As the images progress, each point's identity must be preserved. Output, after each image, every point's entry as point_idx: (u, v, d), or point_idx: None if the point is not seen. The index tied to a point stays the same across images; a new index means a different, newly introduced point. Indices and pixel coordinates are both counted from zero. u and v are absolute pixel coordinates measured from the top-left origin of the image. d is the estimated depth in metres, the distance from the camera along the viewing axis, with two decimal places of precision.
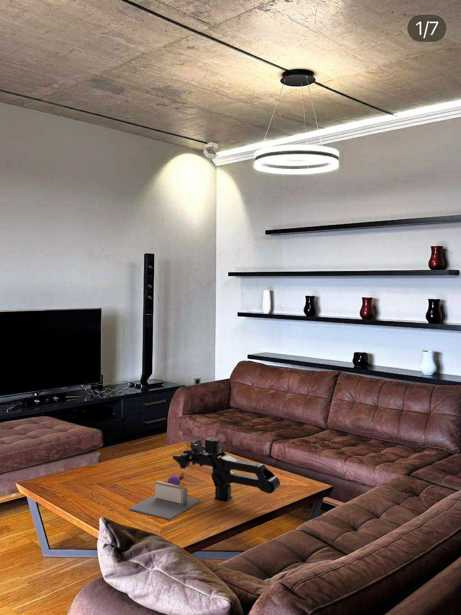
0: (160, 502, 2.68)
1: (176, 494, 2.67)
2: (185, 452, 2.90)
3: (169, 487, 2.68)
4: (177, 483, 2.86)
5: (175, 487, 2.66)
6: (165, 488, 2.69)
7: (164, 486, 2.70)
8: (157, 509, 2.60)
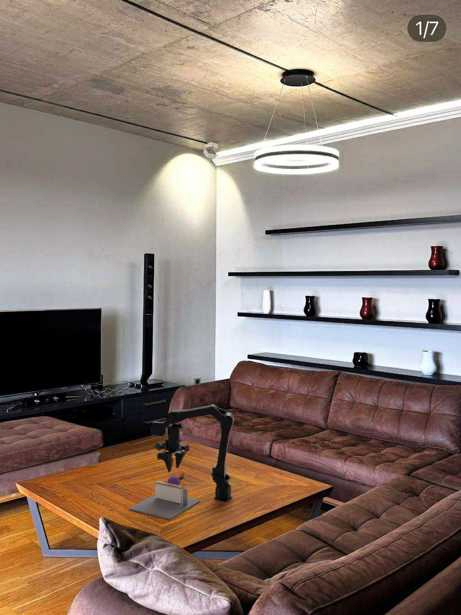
0: (160, 502, 2.68)
1: (176, 494, 2.67)
2: (177, 465, 2.80)
3: (169, 487, 2.68)
4: (177, 483, 2.86)
5: (175, 487, 2.66)
6: (165, 488, 2.69)
7: (164, 486, 2.70)
8: (157, 509, 2.60)
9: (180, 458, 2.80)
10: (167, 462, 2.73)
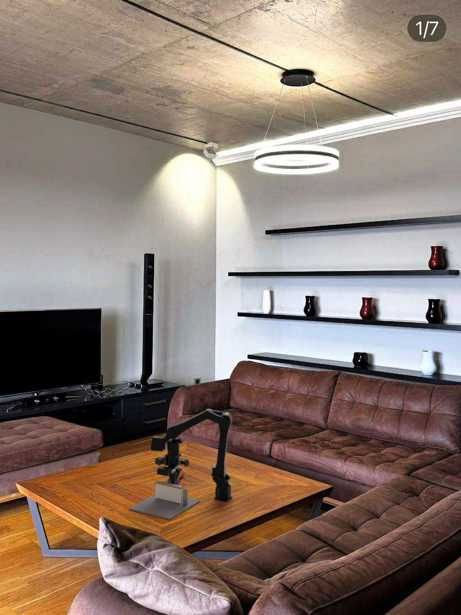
0: (160, 502, 2.68)
1: (176, 494, 2.67)
2: None
3: (169, 487, 2.68)
4: (176, 483, 2.86)
5: (175, 487, 2.66)
6: (165, 488, 2.69)
7: (164, 486, 2.70)
8: (157, 509, 2.60)
9: None
10: (171, 475, 2.76)
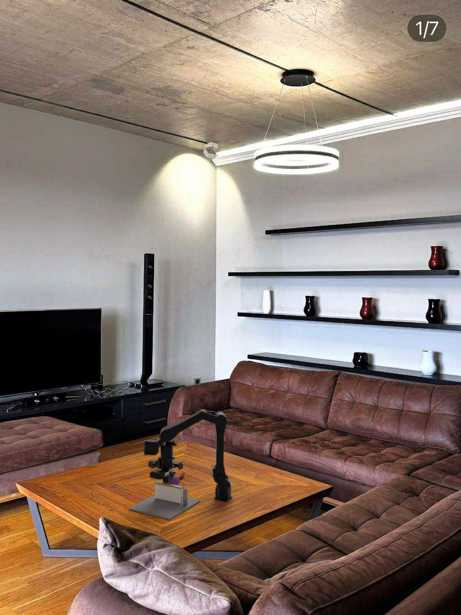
0: (160, 502, 2.68)
1: (176, 494, 2.66)
2: None
3: (169, 487, 2.68)
4: (176, 483, 2.86)
5: (175, 487, 2.66)
6: (165, 488, 2.69)
7: (164, 486, 2.69)
8: (157, 509, 2.60)
9: None
10: (164, 478, 2.71)
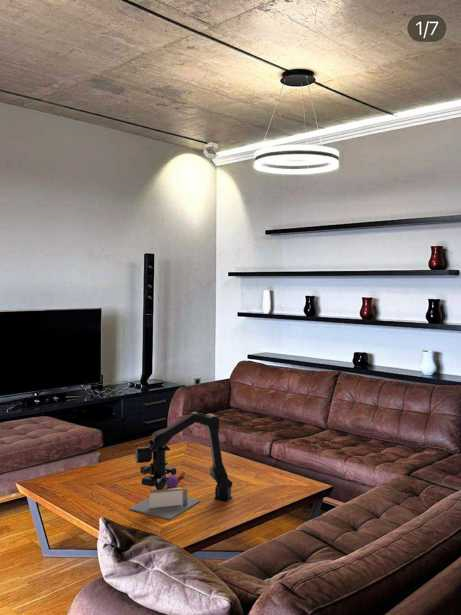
0: None
1: (176, 497, 2.63)
2: None
3: (167, 492, 2.62)
4: (174, 483, 2.86)
5: (175, 490, 2.63)
6: (162, 495, 2.61)
7: (161, 493, 2.61)
8: (157, 509, 2.60)
9: None
10: (157, 485, 2.63)
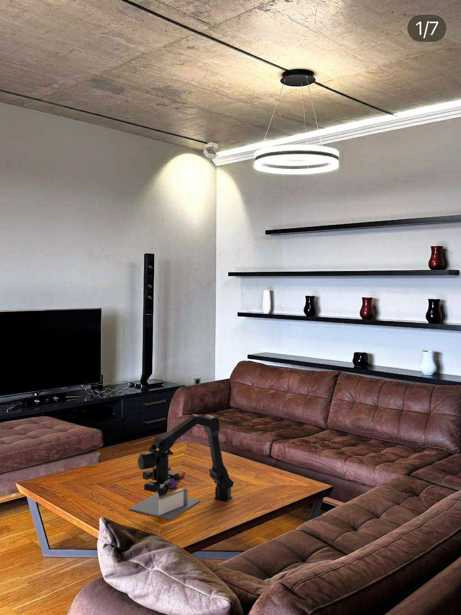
0: None
1: (179, 498, 2.61)
2: None
3: (173, 495, 2.58)
4: (174, 482, 2.86)
5: (178, 492, 2.61)
6: (169, 499, 2.57)
7: (168, 497, 2.56)
8: (157, 509, 2.60)
9: None
10: (159, 491, 2.56)
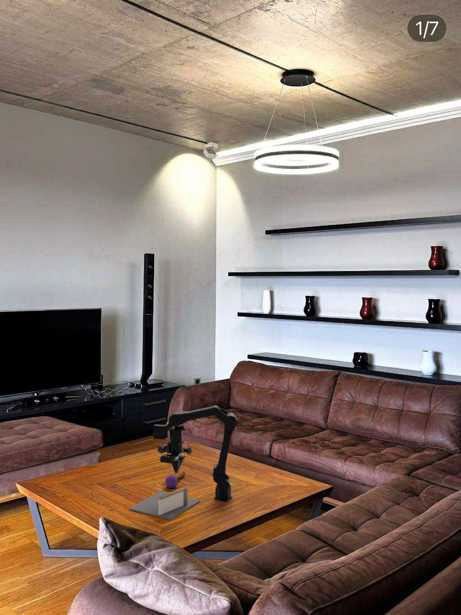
0: None
1: (179, 498, 2.61)
2: None
3: (173, 495, 2.58)
4: (174, 482, 2.86)
5: (178, 492, 2.61)
6: (169, 499, 2.57)
7: (168, 497, 2.56)
8: (157, 509, 2.60)
9: None
10: (174, 463, 2.73)
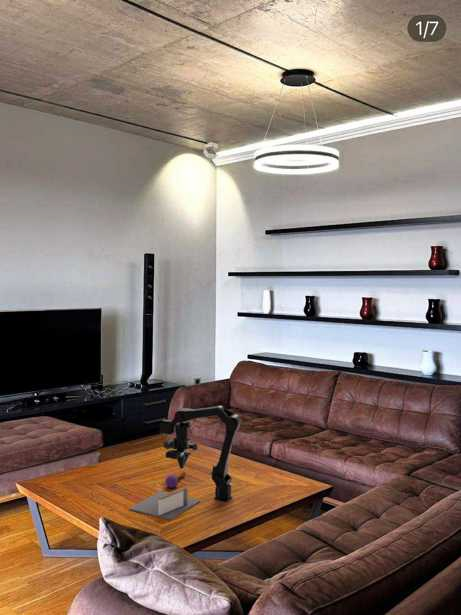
0: None
1: (179, 498, 2.61)
2: None
3: (173, 495, 2.58)
4: (174, 482, 2.87)
5: (178, 492, 2.61)
6: (169, 499, 2.57)
7: (168, 497, 2.56)
8: (157, 509, 2.60)
9: None
10: (179, 459, 2.78)
